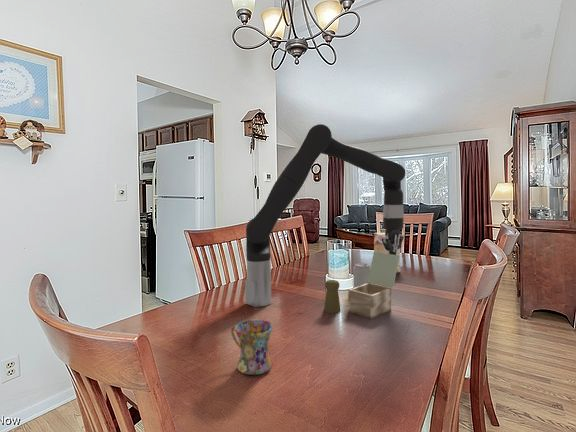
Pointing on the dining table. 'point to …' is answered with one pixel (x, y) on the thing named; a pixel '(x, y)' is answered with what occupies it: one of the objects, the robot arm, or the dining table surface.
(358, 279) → the can
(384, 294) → the box
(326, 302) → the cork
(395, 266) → the lid
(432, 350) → the dining table surface
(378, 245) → the coffeecake box
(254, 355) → the mug
